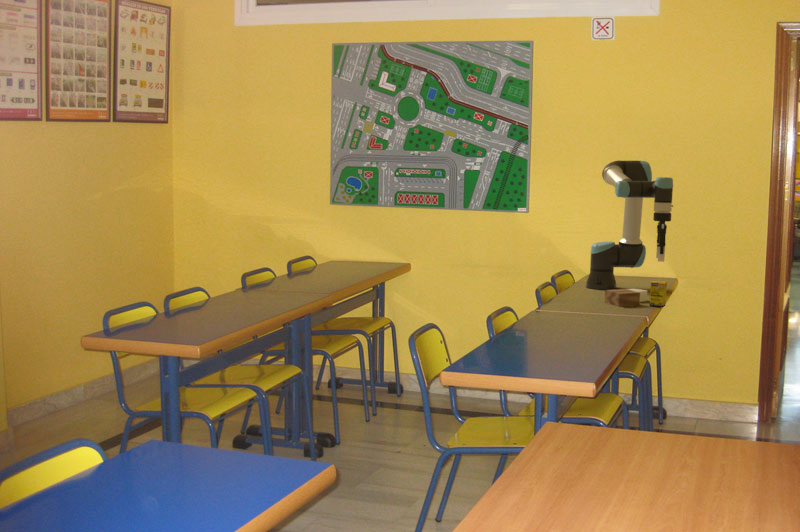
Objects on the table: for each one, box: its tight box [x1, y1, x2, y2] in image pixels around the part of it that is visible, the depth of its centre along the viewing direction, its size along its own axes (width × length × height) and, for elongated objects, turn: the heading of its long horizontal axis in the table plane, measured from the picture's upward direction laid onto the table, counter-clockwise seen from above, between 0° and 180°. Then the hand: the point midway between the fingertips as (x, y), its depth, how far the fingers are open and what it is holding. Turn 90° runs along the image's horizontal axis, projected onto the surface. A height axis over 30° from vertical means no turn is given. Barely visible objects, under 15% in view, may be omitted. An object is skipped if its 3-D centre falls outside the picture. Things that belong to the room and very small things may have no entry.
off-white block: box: [626, 288, 648, 303], centre depth 403 cm, size 8×8×5 cm
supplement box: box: [649, 280, 668, 308], centre depth 388 cm, size 6×6×11 cm
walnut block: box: [604, 288, 640, 307], centre depth 392 cm, size 11×11×6 cm
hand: (660, 259), depth 386 cm, fingers open, 13 cm apart
